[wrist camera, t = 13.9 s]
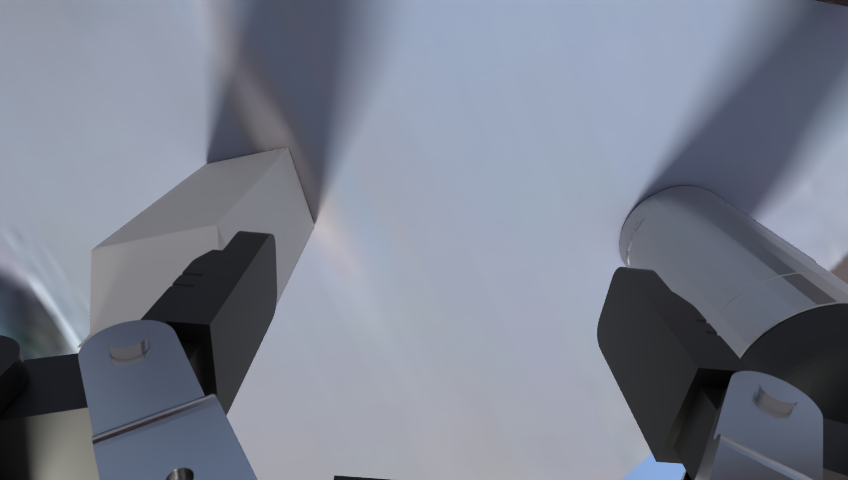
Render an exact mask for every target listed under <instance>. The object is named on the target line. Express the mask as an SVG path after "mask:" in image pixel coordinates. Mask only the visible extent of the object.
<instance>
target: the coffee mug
mask: <svg viewBox="0 0 848 480" xmlns="http://www.w3.org/2000/svg"><path fill="white" fill-rule="evenodd" d="M817 1H822V2H827V3H833V4H838V5H843V6H848V0H817Z"/></svg>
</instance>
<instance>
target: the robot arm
mask: <svg viewBox="0 0 848 480" xmlns="http://www.w3.org/2000/svg"><path fill="white" fill-rule="evenodd" d="M619 246H620V254H621V257H622V260H623V262H624V263H625V265H626V266H627V267H619V268H618V269H617V270H616V271H615V273H614V275H613V277H612V281H611V284H610V287H609V290H608V293H607V296H606V299H605V303H604V306H603V309H602V312H601V315H600V318H599V322H598V328H597V338H598V344H599V347H600V349H601V351H602V353H603V355H604V357H605V359H606V361H607V363H608V365H609V367H610V369H611V371H612V373H613V375H614V377H615V379H616V381H617V383H618V386H619V388H620V390H621V392H622V394H623V396H624V398H625V400H626V402H627V404H628V406H629V408H630V410H631V412H632V414H633V416H634V418H635V420H636V422H637V424H638V426H639V428H640V430H641V432H642V434H643V436H644V438H645V440H646V442H647V444H648V446H649V448H650V450H651V452H652V454H653V456H654V458H655V460H656V462H669V463H682V464H683V465H684V467H685V469H686V470H685V472H684V474H683V476H682V479H681V480H848V284H847V283H845V282H843V281H842V280H841V279H839V278H838V277H836V276H835V275H833V274H832V273H830V272H829V271H827V270H826V269H824V268H823V267H821V266H820V265H818V264H817V263H816V261H815V260H814V259H812V258H811V257H809V256H808V255H806V254H805V253H803V252H802V251H800V250H799V249H797V248H796V247H794V246H793V245H791V244H790V243H788V242H787V241H785V240H784V239H782V238H781V237H779V236H778V235H776V234H775V233H773V232H772V231H771V230H769V229H768V228H766V227H765V226H763V225H762V224H760V223H759V222H757V221H756V220H754V219H753V218H751V217H750V216H748V215H747V214H745V213H744V212H742V211H741V210H739V209H738V208H735V207H733V206H732V205H730V204H729V203H727V202H726V201H724V200H723V199H721V198H720V197H718V196H716V195H715V194H713V193H712V192H710V191H709V190H706V189H703V188H700V187H695V186H676V187H672V188H668V189H665V190H662V191H660V192H658V193H655V194H653V195H651V196H650V197H648V198H647V199H646V200H644V201H643V202H641V203H640V204H639V205H638V206H637V207H636V208H635V209H634V210H633V211H632V213H631V214H630V216H629V217H628V218H627V220H626V221H625V224H624V226H623V228H622V231H621V235H620V240H619ZM172 284H173V285H172V286H170V287H169V288H168V289H167V290H166V291H165V292H164V293H163V295H162V296H161V297H160V298H159V299H158V300H157V301H156V302H155V304H154V305H153V306H152V307H151V308H150V309H149V310H148V311H147V313H146V314H145V315H144V316H143V317H142V318H141V319H140V320H135V321H128V322H123V323H120V324H116V325H113V326H111V327H108V328H106V329H104V330H102V331H100V332H98V333H96V334H95V335H93V336H92V337H90V338H89V339H88V340H87V341H86V342H85V343H84V344H83V345H82V347H81V349H80V351H79V353H77V354H71V355H62V356H54V357H46V358H38V359H30V360H24V358H23V355H22V352H21V349H20V346H19V344H18V343H17V342H16V341H15V340H14V339H11V338H9V337H6V336H0V480H257V478H256V476H255V474H254V472H253V469H252V467H251V465H250V463H249V461H248V459H247V457H246V455H245V453H244V451H243V449H242V447H241V445H240V443H239V441H238V439H237V437H236V435H235V433H234V431H233V429H232V427H231V425H230V423H229V421H228V419H227V417H226V415H227V413H228V411H229V409H230V407H231V405H232V403H233V401H234V399H235V397H236V394H237V392H238V390H239V388H240V386H241V384H242V382H243V380H244V378H245V376H246V374H247V371H248V369H249V367H250V365H251V363H252V361H253V359H254V357H255V355H256V353H257V350H258V348H259V346H260V344H261V342H262V340H263V338H264V336H265V334H266V332H267V330H268V327H269V325H270V323H271V321H272V319H273V316H274V313H275V309H276V303H277V268H276V243H275V237H274V235H273V234H270V233H259V232H248V231H238V232H237V233H236V234H235V236H234V237H233V238H232V239H231V241H230V242H229V243H228V244H227V246H226V247H225V248H224V249H223V250H214V249H213V250H211V251H209V252H207V253H205V254H203V255H201V256H200V257H198V258H196V259H194V260H193V261H192V262H191V263H190V264H189V265H188V266H187V268H186V269H185V270H184V271H183V272H182V275H179V277H178V278H177V279H176V280H175V281H174V282H173V283H172ZM334 480H388V479H374V478H361V477H347V476H334Z"/></svg>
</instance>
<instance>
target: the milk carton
mask: <svg viewBox="0 0 848 480" xmlns="http://www.w3.org/2000/svg"><path fill="white" fill-rule="evenodd" d="M313 229H314V223H313V220H312V217H311V214H310V211H309V208H308V205H307V202H306V199H305V196H304V193H303V190H302V187H301V184H300V181H299V178H298V175H297V172H296V169H295V166H294V163H293V160H292V158H291V155H290V152H289V149H288V148H280V149H276V150H271V151H266V152H261V153H256V154H251V155H247V156H242V157H237V158H232V159H227V160H223V161H218V162H213V163H209V164H206V165H204V166H202V167H201V168H200V169H198V170H197V171H196V172H195V173H193V174H192V175H191V176H189V177H188V178H187V179H185V180H184V181H183V182H181V183H180V184H179V185H177V186H176V187H175V188H173V189H172V190H171V191H169V192H168V193H167V194H165V195H164V196H163V197H161V198H160V199H159V200H157V201H156V202H155V203H153V204H152V205H151V206H149V207H148V208H147V209H145V210H144V211H143V212H142V213H140V214H139V215H138V216H136V217H135V218H134V219H132V220H131V221H130V222H128V223H127V224H126V225H124V226H123V227H122V228H120V229H119V230H118V231H116V232H115V233H114V234H112V235H111V236H110V237H108V238H107V239H106V240H104V241H103V242H102V243H100V244H99V245H98V246H96V247H95V248H94V249H92V255H91V297H90V335H89V336H88V337H87V338H86V339H85V340H84V341H83V342H82V343H81V344H80V345H79V346H78V347H77V349H78V350H79V351H80V349H81V347H82V345H83V344H84V343H85V342H86V341H87V340H88V339H89V338H90V337H92V336H93V335H95V334H96V333H98V332H100V331H102V330H104V329H106V328H108V327H111V326H113V325H116V324H120V323H123V322H128V321H135V320H140V319H141V318H142V317H143V316H144V315H145V314H146V313H147V311H148V310H149V309H150V308H151V307H152V306H153V305H154V304H155V302H156V301H157V300H158V299H159V298H160V297H161V296H162V295H163V293H164V292H165V291H166V290H167V289H168V288H169V287H170V286H172V285H173V284H172V283H173V282H174V281H175V280H176V279H177V278H178V277H179V275H182V272H183V271H184V270H185V269H186V268H187V266H188V265H189V264H190V263H191V262H192V261H193V260H194V259H196V258H198V257H200V256H201V255H203V254H205V253H207V252H209V251H211V250H213V249H214V250H223V249H224V248H225V247H226V246H227V244H228V243H229V242H230V241H231V239H232V238H233V237H234V236H235V234H236V233H237V232H238V231H248V232H259V233H270V234H273V235H274V237H275V243H276V268H277V303H278V301H279V299H280V297H281V295H282V293H283V291H284V289H285V287H286V285H287V283H288V281H289V278H290V276H291V274H292V272H293V270H294V268H295V266H296V264H297V262H298V260H299V258H300V256H301V254H302V252H303V250H304V248H305V245H306V243H307V241H308V239H309V237H310V235H311V233H312V231H313ZM277 303H276V305H277Z"/></svg>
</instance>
